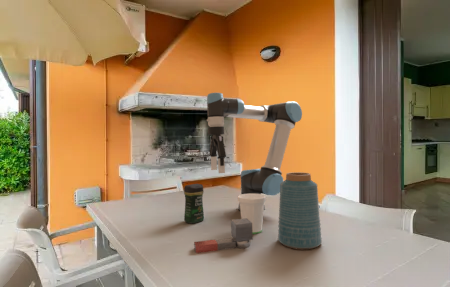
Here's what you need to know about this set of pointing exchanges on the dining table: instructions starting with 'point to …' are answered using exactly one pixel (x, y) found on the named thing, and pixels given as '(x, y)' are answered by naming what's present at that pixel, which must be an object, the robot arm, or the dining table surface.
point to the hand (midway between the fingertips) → (217, 171)
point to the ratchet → (219, 245)
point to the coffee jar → (193, 203)
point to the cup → (252, 210)
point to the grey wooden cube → (241, 229)
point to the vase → (299, 212)
